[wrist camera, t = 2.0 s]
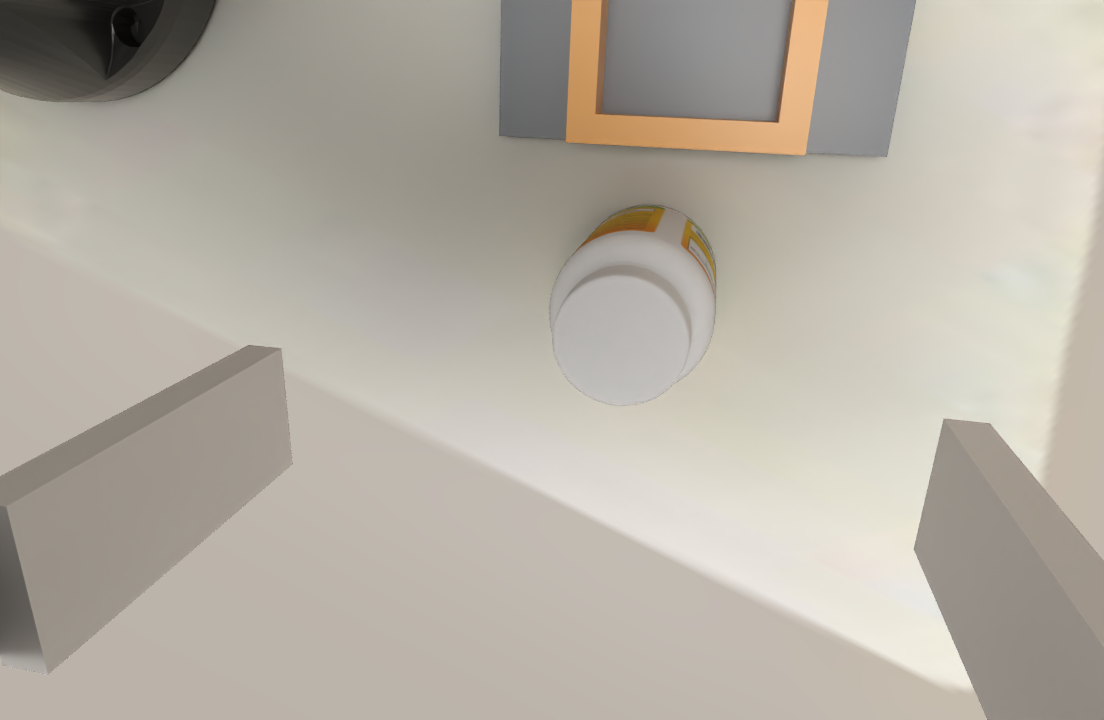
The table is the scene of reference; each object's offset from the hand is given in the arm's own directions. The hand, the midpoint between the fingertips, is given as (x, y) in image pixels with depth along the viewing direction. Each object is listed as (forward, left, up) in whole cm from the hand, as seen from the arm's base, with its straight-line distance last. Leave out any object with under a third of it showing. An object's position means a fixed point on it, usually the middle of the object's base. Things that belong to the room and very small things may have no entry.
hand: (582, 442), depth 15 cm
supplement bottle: (0, 0, -17) cm, 17 cm away
